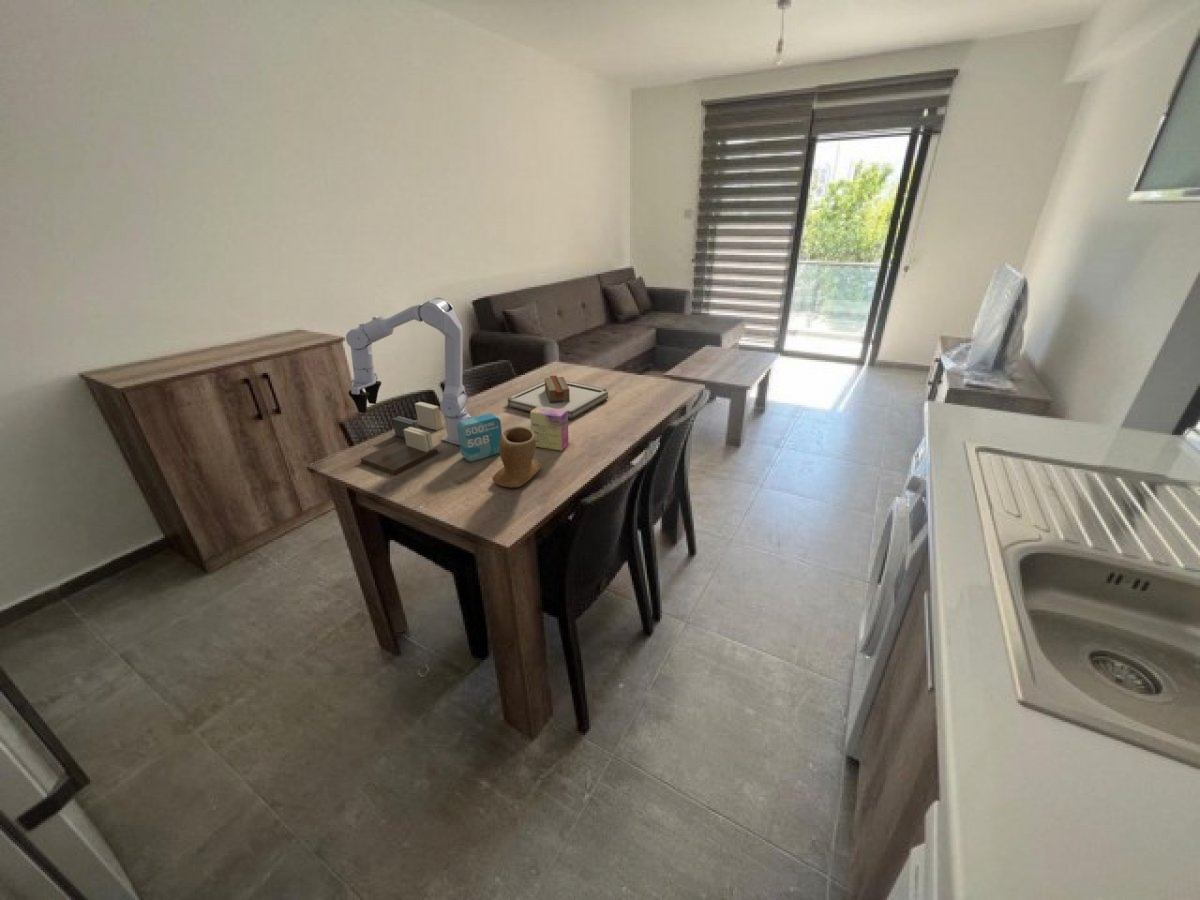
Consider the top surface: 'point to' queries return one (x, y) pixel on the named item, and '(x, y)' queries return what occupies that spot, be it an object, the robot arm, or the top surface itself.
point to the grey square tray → (558, 396)
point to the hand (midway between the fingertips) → (367, 407)
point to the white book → (428, 415)
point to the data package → (479, 436)
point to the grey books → (403, 425)
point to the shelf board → (396, 457)
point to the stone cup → (517, 457)
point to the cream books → (418, 439)
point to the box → (550, 427)
